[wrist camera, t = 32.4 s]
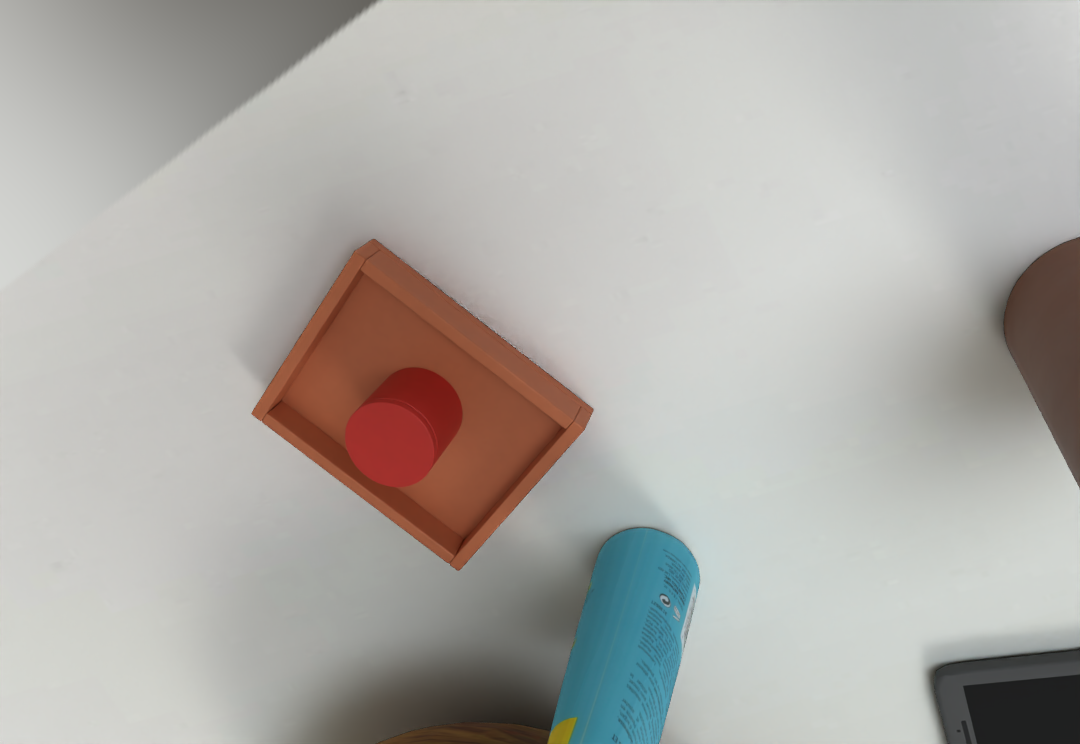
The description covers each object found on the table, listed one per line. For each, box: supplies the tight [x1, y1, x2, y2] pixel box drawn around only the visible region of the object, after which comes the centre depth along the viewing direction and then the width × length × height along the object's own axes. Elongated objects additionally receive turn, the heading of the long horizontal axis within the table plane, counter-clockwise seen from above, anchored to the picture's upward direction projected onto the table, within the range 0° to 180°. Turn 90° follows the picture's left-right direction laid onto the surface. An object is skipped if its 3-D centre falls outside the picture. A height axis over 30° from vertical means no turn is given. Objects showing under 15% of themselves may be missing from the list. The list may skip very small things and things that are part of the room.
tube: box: [547, 528, 700, 744], centre depth 36 cm, size 7×5×19 cm, turn 16°
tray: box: [251, 239, 593, 571], centre depth 43 cm, size 12×10×2 cm
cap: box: [345, 367, 463, 487], centre depth 42 cm, size 4×4×4 cm
